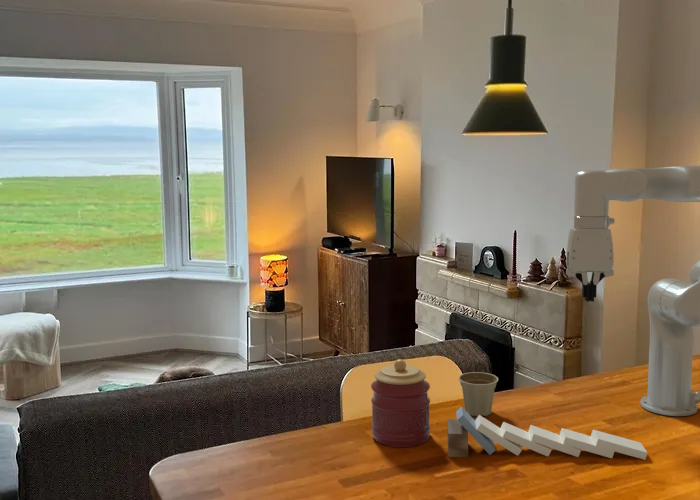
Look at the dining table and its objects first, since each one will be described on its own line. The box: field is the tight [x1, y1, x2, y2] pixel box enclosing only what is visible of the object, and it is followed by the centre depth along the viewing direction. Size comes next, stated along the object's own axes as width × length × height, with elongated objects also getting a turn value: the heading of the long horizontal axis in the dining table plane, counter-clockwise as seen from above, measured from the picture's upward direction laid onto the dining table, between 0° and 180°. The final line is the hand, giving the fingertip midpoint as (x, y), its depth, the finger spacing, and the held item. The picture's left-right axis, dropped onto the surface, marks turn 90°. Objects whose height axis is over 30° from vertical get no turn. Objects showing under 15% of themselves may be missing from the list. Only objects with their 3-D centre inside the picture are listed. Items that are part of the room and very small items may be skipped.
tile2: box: [559, 427, 615, 459], centre depth 143 cm, size 2×5×10 cm
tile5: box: [474, 415, 523, 456], centre depth 145 cm, size 2×5×10 cm
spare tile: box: [455, 406, 496, 456], centre depth 145 cm, size 2×5×10 cm
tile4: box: [499, 421, 552, 458], centre depth 144 cm, size 2×5×10 cm
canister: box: [370, 358, 431, 448], centre depth 152 cm, size 13×13×18 cm
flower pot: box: [458, 371, 499, 418], centre depth 167 cm, size 9×9×9 cm
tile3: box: [527, 424, 582, 458], centre depth 144 cm, size 2×5×10 cm
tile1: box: [590, 429, 648, 461], centre depth 142 cm, size 2×5×10 cm
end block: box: [447, 418, 469, 458], centre depth 146 cm, size 4×8×5 cm, turn 173°
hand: (588, 300), depth 164 cm, fingers closed
